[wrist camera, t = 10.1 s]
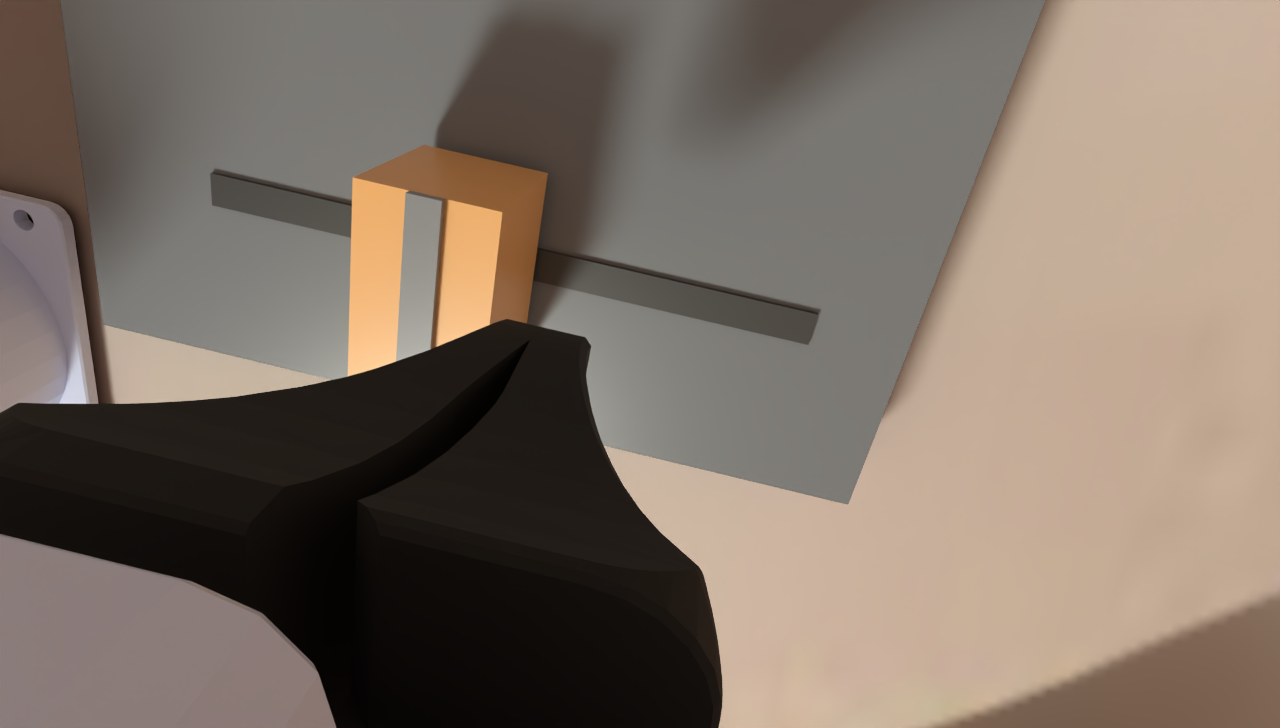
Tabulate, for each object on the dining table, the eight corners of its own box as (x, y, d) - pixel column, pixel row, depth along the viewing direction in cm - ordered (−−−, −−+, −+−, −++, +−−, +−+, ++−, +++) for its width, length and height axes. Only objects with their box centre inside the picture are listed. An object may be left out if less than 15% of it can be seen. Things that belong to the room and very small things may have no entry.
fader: (412, 327, 17) (343, 394, 14) (424, 144, 15) (348, 179, 12) (522, 353, 17) (475, 426, 14) (547, 173, 15) (499, 214, 12)
